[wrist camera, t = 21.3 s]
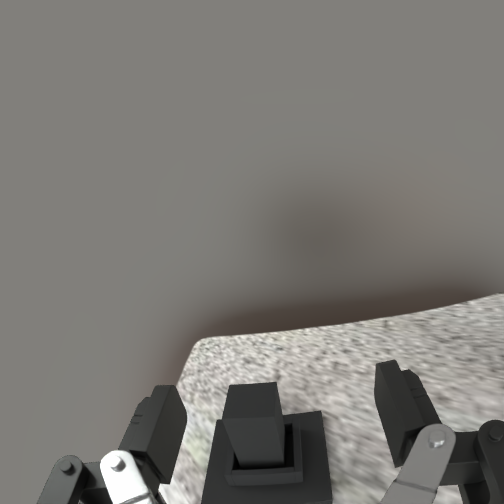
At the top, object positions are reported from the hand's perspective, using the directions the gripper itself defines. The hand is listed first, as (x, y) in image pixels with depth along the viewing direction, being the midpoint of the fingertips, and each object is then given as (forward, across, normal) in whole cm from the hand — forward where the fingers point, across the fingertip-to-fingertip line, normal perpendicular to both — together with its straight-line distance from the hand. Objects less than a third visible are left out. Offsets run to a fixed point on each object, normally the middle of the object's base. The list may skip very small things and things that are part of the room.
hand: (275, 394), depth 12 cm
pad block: (+14, +4, +24) cm, 28 cm away
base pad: (+13, +4, +25) cm, 29 cm away
